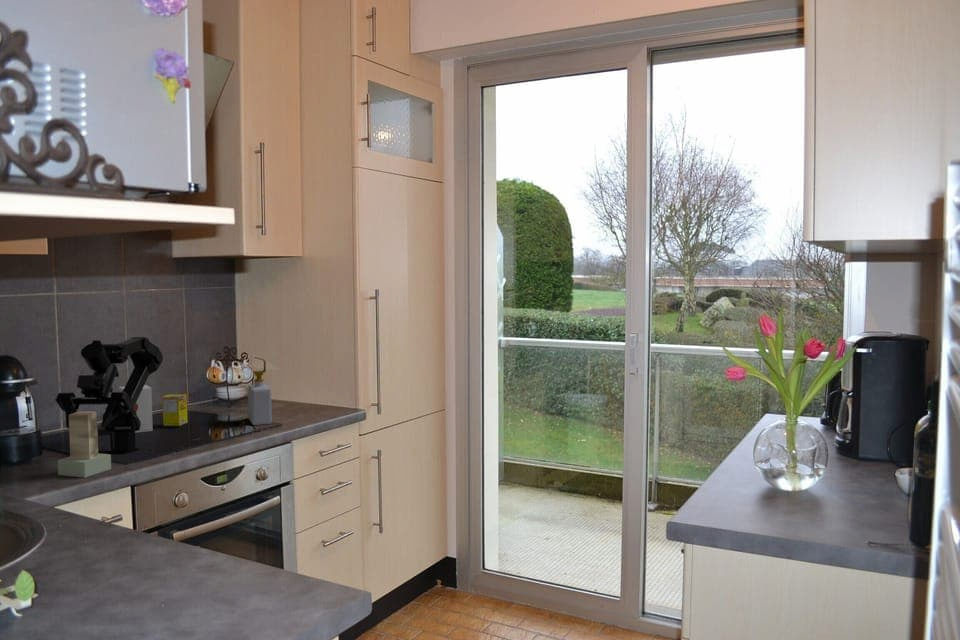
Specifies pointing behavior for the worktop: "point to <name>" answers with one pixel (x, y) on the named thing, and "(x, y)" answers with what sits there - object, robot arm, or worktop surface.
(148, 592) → the worktop surface
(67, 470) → the riser block
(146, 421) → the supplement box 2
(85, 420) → the maple block
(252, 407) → the soap bottle
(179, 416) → the supplement box
